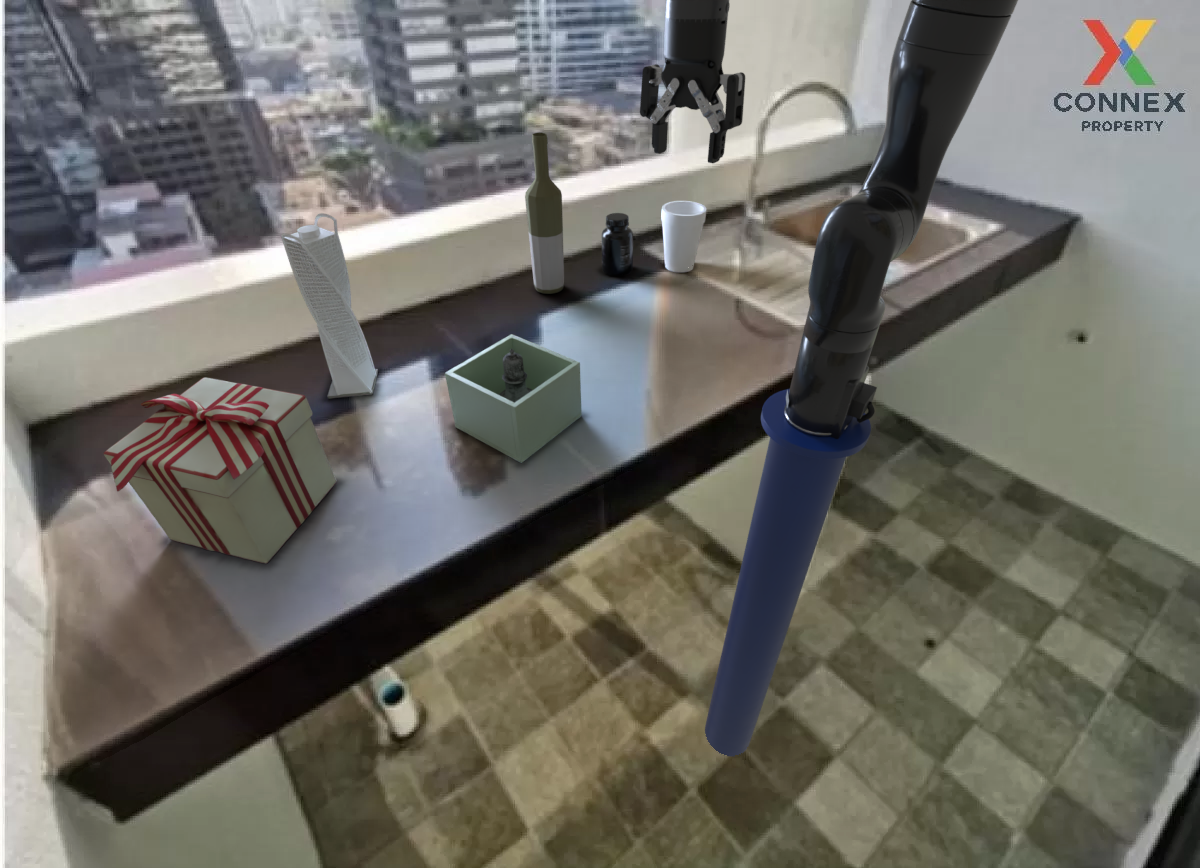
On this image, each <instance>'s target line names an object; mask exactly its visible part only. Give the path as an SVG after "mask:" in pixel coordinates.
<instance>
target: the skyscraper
mask: <svg viewBox="0 0 1200 868" xmlns="http://www.w3.org/2000/svg"><path fill="white" fill-rule="evenodd" d="M321 218H328V219H331V220H332V222H333V228H334V229H333V230H334V232H333V231H332V230H329V229H325V228H323V227H320V226H319V225H318V221H319V219H321ZM296 231H297V232H294V233H291V234H289V233H285V232H284V233H282V234H281V241H282V244H283V247H284V250H285V253H286V256H287V260H288V262H289V266H290V268H291V271H292V273H293V276H294V280H295V282H296V284H297V286H298V290H299V292H300V294H301V296H302V299H303V301H304V303H305V305H306V307H307V309H308V311H309V312H310V315H311V316H312V318H313V320H314V322H315V323H316V327H317V331H318V334H319V335H318V336H319V339H320V343H321V347H322V350H323V354H324V357H325V360H326V365H327V368H328V370H329V373H330V376H331V380H332V381H331V384H330V386H329V390H328V392H327V399H337V398H338V399H340V398H348V397H360V396H373V395H374V392H375V386H376V382H377V379H378V373H379V369H378V368H375V365H374V361H373V358H372V354H371V351H370V348H369V345H368V342H367V339H366V337H365V333H364V331H363V330H362V327H361V325H360V323H359V321H358V319H357V316H356V314H355V313H354V311H353V308H352V292H351V283H350V276H349V270H348V267H347V261H346V257H345V253H344V249H343V246H342V243H341V239H340V236H339V232H338V231H339V230H338V220H337V218H335V217H334V216H332V215H330V214H328V213H323V212H321V213H317V214H316V216H315V218H314V224H307V225H303V226H300V227H298V228H297V230H296Z"/></svg>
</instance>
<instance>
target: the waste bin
mask: <svg viewBox="0 0 1200 868" xmlns="http://www.w3.org/2000/svg"><path fill="white" fill-rule="evenodd" d="M511 349H513V350H514V353H518V354H520V355H521V356H522V358H523V366H524V372H525V373H526V374H527V379H526V380H525V381H526V387H527V388H530V389H532V390H533V391H531V392H530V393H528V394H527V395H525V396H524V397H522V398H521V399H519V400H518V401H516V402H515V403H514V402H512V401H510V400H508V399H506V398H504V397H502V396H500V395H499V394H500V393H501V392H502V391H504V390H506V387H505V381H503V379H502V376H503V374H504V367H503V357H504V356H505V355H506V354H508V353H510V352H509V351H510V350H511ZM444 377H445V382H446V386H447V391H448V392H447V393H448V397H449V401H450V406H451V411H452V416H453V421H454V427H455V428H457V429H458V430H460V431H461V432H464V433H465V434H468V435H469V436H470V437H472V438H474V439H476V440H478V441H480V442H482V443H484V444H485V445H487V446H489V447H491V448H493V449H495V450H497V451H498V452H500V453H502V454H503V455H506V456H507V457H509V458H511V459H512V460H515V461H516V462H519V463H520V464H523V463H524V462H525V461H526V460H528V459H529V458H530V457H531V456H533V455H534V454H536V452H538V451H539V450H541V449H542V448H543V447H544V446H546V445H547V444H548V443H549V442H550V441H552V440H553V439H554V438H556V437H557V436H558V435H559V434H561V433H562V432H563V431H565V430H566V429H567V428H569V427H570V426H571V425H572V424H573V423H574V422H576V421H577V420H578V419H580V418H581V417H582V416H583V415H582V388H581V387H582V386H581V385H582V384H581V362H580V361H577V360H575V359H572V358H570V357H568V356H566V355H563V354H561V353H558V352H556V351H554V350H551V349H549V348H546V347H544V346H541V345H539V344H537V343H534V342H533V341H529V340H527V339H524V338H522V337H520V336H517V335H515V334H512V333H511V334H509V335H508V336H506V337H504V338H501V340H499V341H496V342H495V343H493V344H492V345H490V346H489V347H486V348H485V349H484V350H482V351H480V352H478V353H476V354H475V355H473V356H471V357H469V358H468V359H466V360H464V361H463V362H461V363H460V364H459V363H458V365H456V366H454V367H452V368H451V369H449V370H447V371H446V372H444Z"/></svg>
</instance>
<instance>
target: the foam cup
mask: <svg viewBox="0 0 1200 868" xmlns="http://www.w3.org/2000/svg"><path fill="white" fill-rule="evenodd" d="M660 215H661V216H660V220H661V225H662V227H661V228H662V241H663V254H664V255H663V257H664V267H665V269H666V270H668V271H670V272H672V273H673V272H674V273H687V272H691V271H693V269H694V267H695V262H696V259H697V258H696V257H697V254H698V249H699V244H700V240H701V236H702V232H703V228H704V224H705V223H706V219H707V217H706V216H707V207H706V205H704V204H702V203H699V202H697V201H691V200H673V201H667V202H666V203H664V204H662V207H661V214H660ZM692 265H693V266H692ZM688 267H689V268H688Z"/></svg>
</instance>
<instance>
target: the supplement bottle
mask: <svg viewBox="0 0 1200 868" xmlns="http://www.w3.org/2000/svg"><path fill="white" fill-rule="evenodd" d="M629 226H630V221H629V215H628V214H626V213H623V212H612V213H609V214H607V215H606V216H605V228H603V230H602V232H601V270H602V272H603V273H604V274H606V275H607V276H611V277H623V276H627V275H629V274H631V272H632V271H633V269H634V268H633V267H634V266H633V265H634V232H633V230H632V229H631V228H630V227H629Z"/></svg>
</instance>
